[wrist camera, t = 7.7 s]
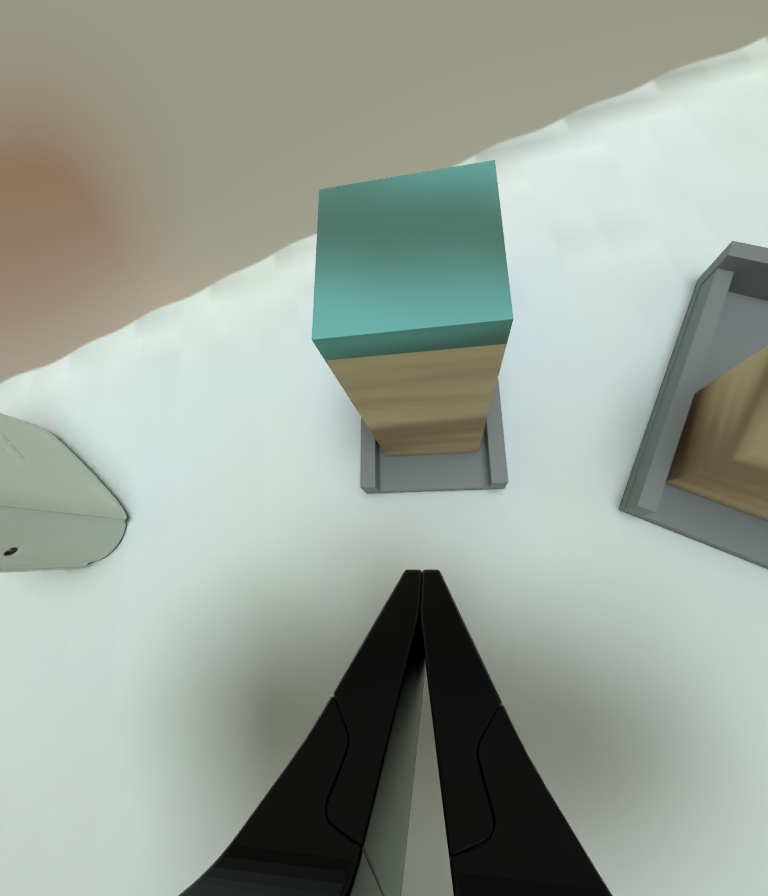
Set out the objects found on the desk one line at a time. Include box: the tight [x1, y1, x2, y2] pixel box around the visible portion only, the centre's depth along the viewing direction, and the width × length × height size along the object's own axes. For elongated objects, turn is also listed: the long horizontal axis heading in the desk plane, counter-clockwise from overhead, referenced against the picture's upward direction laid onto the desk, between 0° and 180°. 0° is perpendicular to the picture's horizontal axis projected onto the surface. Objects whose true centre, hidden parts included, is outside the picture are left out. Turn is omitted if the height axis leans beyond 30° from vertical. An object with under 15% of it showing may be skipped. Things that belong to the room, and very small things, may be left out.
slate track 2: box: [619, 241, 768, 568], centre depth 16 cm, size 13×7×2 cm, turn 154°
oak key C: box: [312, 160, 513, 457], centre depth 14 cm, size 4×4×11 cm
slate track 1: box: [361, 378, 508, 493], centre depth 20 cm, size 13×7×2 cm, turn 0°
